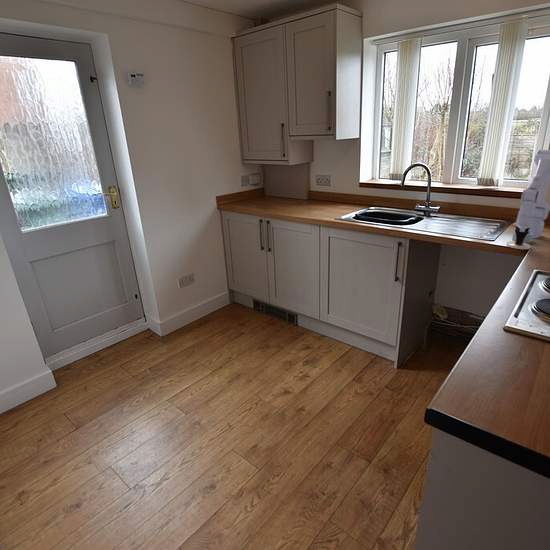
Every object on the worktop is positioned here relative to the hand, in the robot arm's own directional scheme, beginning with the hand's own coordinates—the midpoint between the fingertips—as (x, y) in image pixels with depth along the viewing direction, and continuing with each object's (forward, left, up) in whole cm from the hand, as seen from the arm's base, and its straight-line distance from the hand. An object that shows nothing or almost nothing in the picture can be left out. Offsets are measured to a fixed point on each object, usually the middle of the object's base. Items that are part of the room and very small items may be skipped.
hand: (518, 243), depth 177 cm
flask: (-41, -18, -2) cm, 44 cm away
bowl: (-11, -4, -2) cm, 12 cm away
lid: (0, 0, -2) cm, 2 cm away
